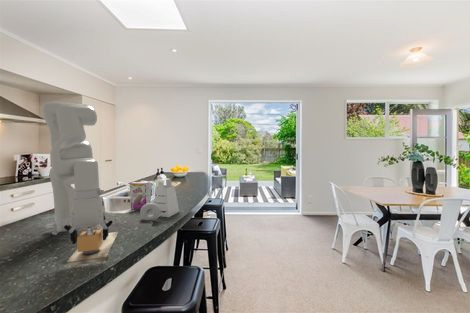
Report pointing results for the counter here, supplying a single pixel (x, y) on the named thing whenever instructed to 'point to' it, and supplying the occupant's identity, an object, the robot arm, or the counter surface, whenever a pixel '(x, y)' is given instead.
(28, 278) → the counter surface
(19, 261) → the counter surface
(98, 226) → the stand rod
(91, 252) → the metal peg
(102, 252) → the board
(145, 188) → the candy bar box
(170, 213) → the grater
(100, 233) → the collar
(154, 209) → the donut
